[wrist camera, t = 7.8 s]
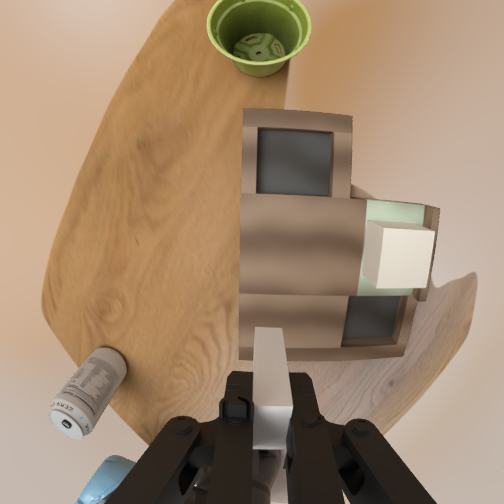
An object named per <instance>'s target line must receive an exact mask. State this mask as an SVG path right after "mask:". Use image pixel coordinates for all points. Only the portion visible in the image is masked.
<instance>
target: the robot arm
mask: <svg viewBox="0 0 504 504" xmlns="http://www.w3.org/2000/svg"><path fill="white" fill-rule="evenodd" d="M285 447H286V448H287V453H286V458H285V462H284V467H283V469H286V476H287V491H288V504H345V502H344V497H343V492H344V493H345V495H346V497H347V499H348V500H349V502H350V504H437V503H436V502H435V501H434V500H433V498H432V497H431V496H430V495H429V493H428V492H427V491H426V490H425V489H424V487H423V486H422V485H421V483H420V482H419V481H418V480H417V478H416V477H415V476H414V475H413V473H412V472H411V471H410V470H409V468H408V467H407V466H406V464H405V463H404V462H403V461H402V459H401V458H400V457H399V456H398V454H397V453H396V452H395V451H394V449H393V448H392V447H391V445H390V444H389V443H388V442H387V440H386V439H385V438H384V437H383V435H382V434H381V433H380V432H379V430H378V429H377V428H376V426H375V425H374V424H373V423H371V422H370V421H368V420H365V419H353V420H351V421H348V423H347V424H346V425H339V424H334V423H330V422H328V421H326V420H325V418H324V416H323V415H321V414H320V412H319V408H318V404H317V400H316V395H315V393H314V387H313V383H312V379H311V378H310V377H309V376H308V374H307V373H291V372H288V366H287V359H286V352H285V345H284V338H283V331H282V328H270V327H255V338H254V355H253V372H243V371H232V372H231V373H230V375H229V376H228V377H227V383H226V390H225V396H224V398H223V399H221V401H220V403H219V417H218V418H216V419H215V420H212V421H209V422H203V423H198V422H197V420H196V419H194V418H191V417H188V416H177V417H174V418H172V419H171V420H169V421H168V422H167V423H166V425H165V426H164V427H163V429H162V430H161V431H160V433H159V434H158V435H157V437H156V438H155V439H154V441H153V442H152V443H151V445H150V446H149V447H148V449H147V450H146V451H145V452H144V454H143V455H142V456H141V458H140V459H139V460H138V462H137V463H136V462H133V461H131V460H129V459H126V458H124V457H122V456H117V455H112V456H110V457H108V458H107V459H105V460H104V462H103V463H102V464H101V465H100V467H99V468H98V469H97V471H96V472H95V473H94V475H93V476H92V478H91V479H90V481H89V482H88V484H87V485H86V487H85V488H84V490H83V491H82V493H81V495H80V497H79V498H78V500H77V502H76V503H75V504H270V490H271V487H272V485H273V482H274V480H275V478H276V475H277V473H278V470H279V467H280V451H279V450H285ZM196 481H197V487H195V486H194V485H195V483H196ZM342 490H343V492H342Z"/></svg>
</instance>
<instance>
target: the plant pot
mask: <svg viewBox="0 0 504 504" xmlns="http://www.w3.org/2000/svg"><path fill="white" fill-rule="evenodd" d="M311 30H312V24H311V19H310V16H309V14H308V12H307V10H306V8H305V7H304V6H303V4H302V3H301V2H300V1H299V0H218V1H217V2H216V3H215V5H214V6H213V7H212V9H211V11H210V13H209V15H208V18H207V32H208V35H209V38H210V40H211V42H212V43H213V45H214V46H215V47H216V48H217V49H218V50H219V51H220V52H221V53H222V54H223V55H225V56H226V57H228V58H230V59H232V61H233V62H234V64H235V65H236V67H237V68H238V69H239V70H240V71H242V72H243V73H245V74H248V75H251V76H254V77H265V76H269V75H272V74H274V73H275V72H277V71H278V70H279V69H280V68H281V67H282V66H283V65H284V63H285V62H286V60H288V59H290V58H292V57H293V56H295V55H296V54H298V53H299V52H300V51H301V50H302V49H303V48H304V46H305V45H306V44H307V42H308V40H309V38H310V35H311ZM251 37H257V39H252V40H249V41H246V40H247V39H248V38H251ZM275 44H276V45H278V46H279V48H280V50H281V53H280V54H279V53H278V51H277V48H276V47H275ZM257 52H261V55H257V54H256V53H257ZM237 56H240V58H237Z"/></svg>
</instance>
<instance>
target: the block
mask: <svg viewBox="0 0 504 504" xmlns="http://www.w3.org/2000/svg"><path fill="white" fill-rule="evenodd" d="M434 236H435V231H433V230H430V229H428V228H425V227H423V226H420V225H417V224H415V223H406V222H392V221H377V220H367V225H366V236H365V246H364V255H363V264H362V272H361V273H362V274H363V275H364V276H365V277H366V278H367V279H368V280H369V281H370V282H371V283H372V284H373V286H374V287H375V288H426V286H427V280H428V275H429V269H430V263H431V257H432V250H433V243H434Z"/></svg>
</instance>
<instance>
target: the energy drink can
mask: <svg viewBox="0 0 504 504" xmlns="http://www.w3.org/2000/svg"><path fill="white" fill-rule="evenodd" d="M126 373H127V369H126V365H125V361H124V359H123V357H122V356H121V355H120V354H119V353H118V352H117V351H115V350H113V349H111V348H97V349H95V350H94V351H93V352H92V353H91V355H90V356H89V357H88V358H87V359H86V361H85V362H84V363H83V364H82V365H81V366H80V368H79V369H78V370H77V371H76V372H75V374H74V375H73V376H72V377H71V378H70V380H69V381H68V382H67V383H66V384H65V386H64V387H63V388H62V390H60V392H59V393H58V394H57V395H56V397H55V398H54V399H53V400H52V402H51V411H50V413H49V418H50V421H51V422H52V424H53V425H54V426H55V427H56V429H57V430H59V431H60V432H61V433H62V434H64V435H65V436H67V437H69V438H71V439H75V440H79V439H81V438H82V437H83V436H84V435H87V434H89V433H91V432H92V430H93V428H94V427H95V425H96V423H97V422H98V420H99V418H100V417H101V415H102V413H103V412H104V410H105V408H106V407H107V405H108V403H109V402H110V400H111V398H112V397H113V395H114V394H115V392H116V390H117V389H118V387H119V385H120V384H121V382H122V381H123V379H124V377H125V376H126Z"/></svg>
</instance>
